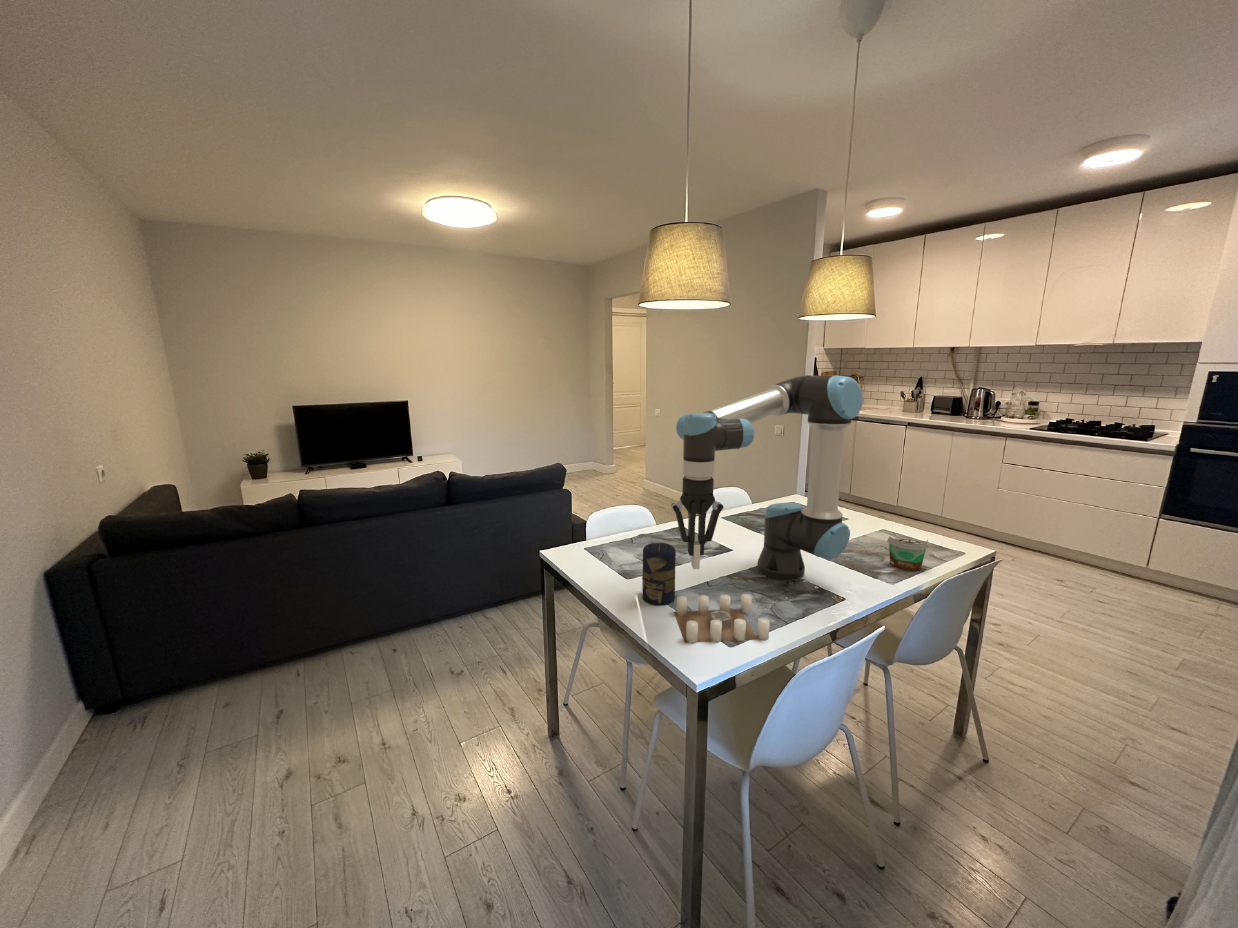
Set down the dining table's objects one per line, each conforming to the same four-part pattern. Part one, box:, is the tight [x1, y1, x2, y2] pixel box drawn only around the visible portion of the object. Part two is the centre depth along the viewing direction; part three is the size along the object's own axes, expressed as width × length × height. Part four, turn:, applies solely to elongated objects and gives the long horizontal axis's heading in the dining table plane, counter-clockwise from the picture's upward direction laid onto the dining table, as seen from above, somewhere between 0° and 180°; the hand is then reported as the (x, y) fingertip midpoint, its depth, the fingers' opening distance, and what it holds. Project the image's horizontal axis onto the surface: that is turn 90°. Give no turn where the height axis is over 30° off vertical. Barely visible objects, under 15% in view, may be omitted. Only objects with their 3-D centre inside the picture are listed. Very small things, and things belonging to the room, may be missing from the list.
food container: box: [887, 535, 930, 572], centre depth 160 cm, size 12×6×10 cm, turn 70°
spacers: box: [676, 593, 771, 644], centre depth 125 cm, size 21×16×5 cm
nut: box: [710, 609, 731, 630], centre depth 125 cm, size 5×6×3 cm
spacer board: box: [673, 608, 759, 644], centre depth 126 cm, size 26×15×1 cm, turn 94°
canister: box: [641, 542, 677, 607], centre depth 138 cm, size 10×10×18 cm
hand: (695, 566), depth 121 cm, fingers closed
